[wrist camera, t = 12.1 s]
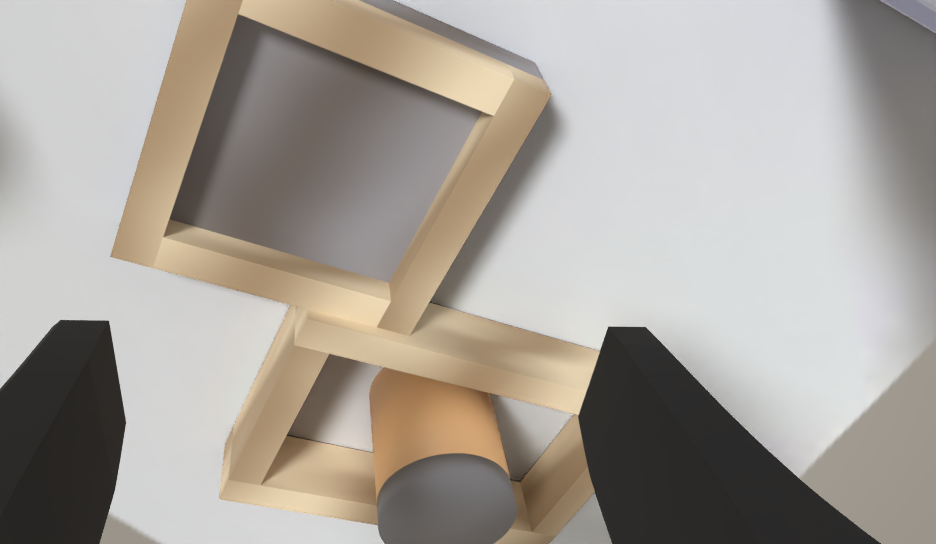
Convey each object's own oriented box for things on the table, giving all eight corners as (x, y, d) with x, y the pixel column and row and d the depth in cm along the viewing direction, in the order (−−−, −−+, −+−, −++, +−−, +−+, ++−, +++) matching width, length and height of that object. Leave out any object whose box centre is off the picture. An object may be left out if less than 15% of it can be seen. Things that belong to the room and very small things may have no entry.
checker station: (796, 177, 23) (833, 220, 22) (529, 501, 31) (541, 551, 30) (212, -80, 17) (199, -48, 15) (64, 413, 25) (46, 471, 23)
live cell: (504, 407, 28) (534, 532, 24) (398, 446, 28) (412, 574, 24) (463, 332, 25) (489, 458, 21) (348, 376, 26) (354, 507, 22)
